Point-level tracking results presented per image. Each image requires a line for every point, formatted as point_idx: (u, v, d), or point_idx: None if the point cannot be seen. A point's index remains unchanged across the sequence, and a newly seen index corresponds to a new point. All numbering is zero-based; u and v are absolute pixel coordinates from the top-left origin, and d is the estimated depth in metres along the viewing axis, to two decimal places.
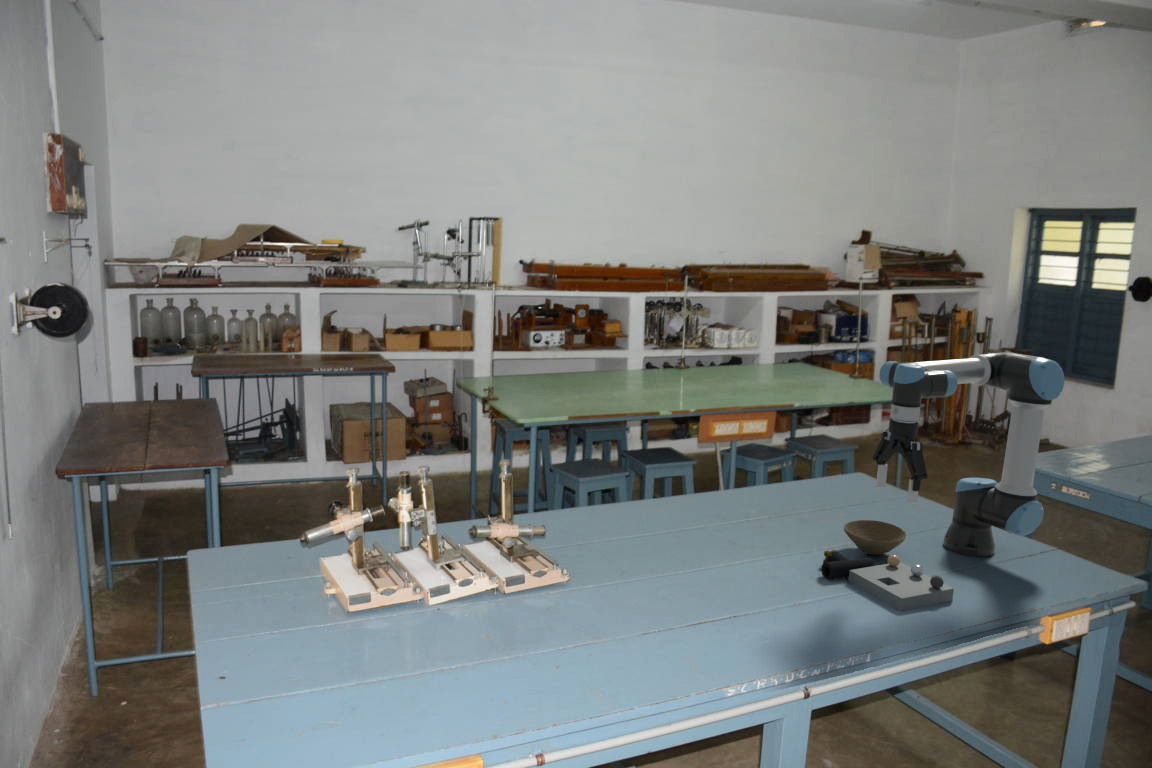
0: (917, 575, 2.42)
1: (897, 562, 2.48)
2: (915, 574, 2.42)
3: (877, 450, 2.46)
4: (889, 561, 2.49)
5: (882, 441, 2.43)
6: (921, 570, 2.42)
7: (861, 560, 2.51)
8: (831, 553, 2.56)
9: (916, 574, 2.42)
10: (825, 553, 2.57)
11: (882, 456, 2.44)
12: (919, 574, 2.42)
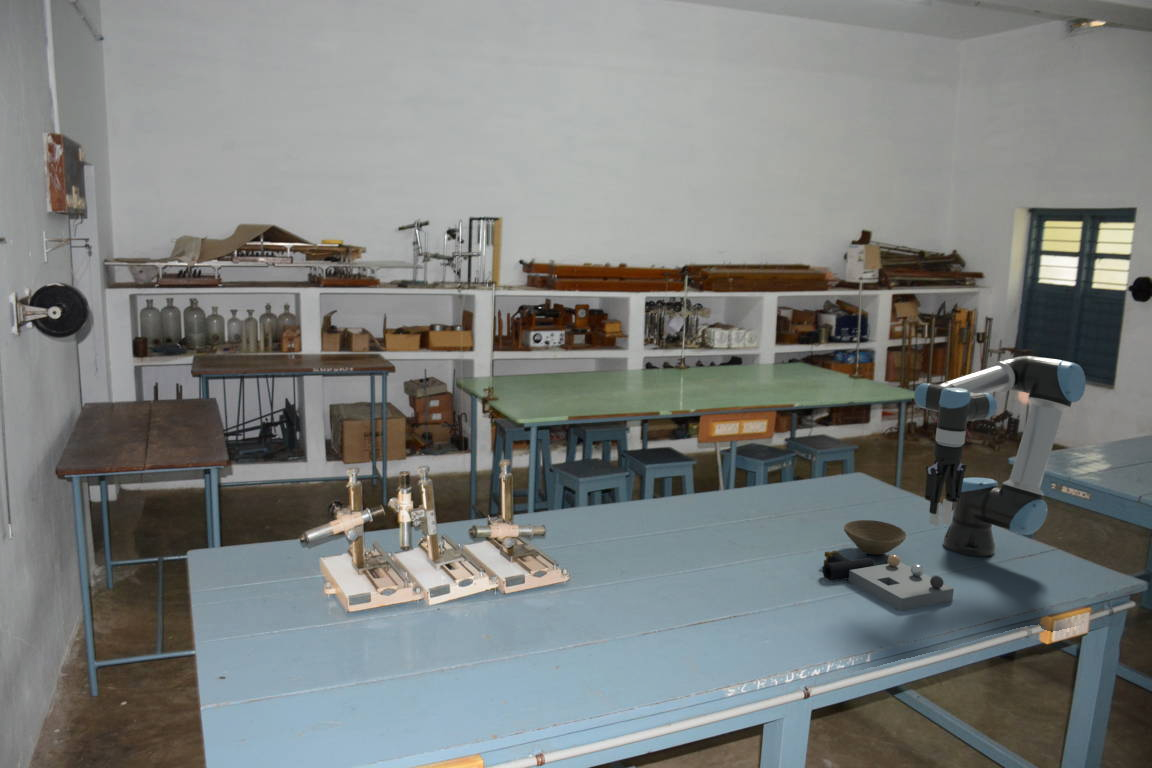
0: (917, 575, 2.42)
1: (897, 562, 2.48)
2: (915, 574, 2.42)
3: None
4: (889, 561, 2.49)
5: None
6: (921, 570, 2.42)
7: (862, 561, 2.50)
8: (832, 554, 2.55)
9: (916, 574, 2.42)
10: (826, 554, 2.57)
11: None
12: (919, 574, 2.42)
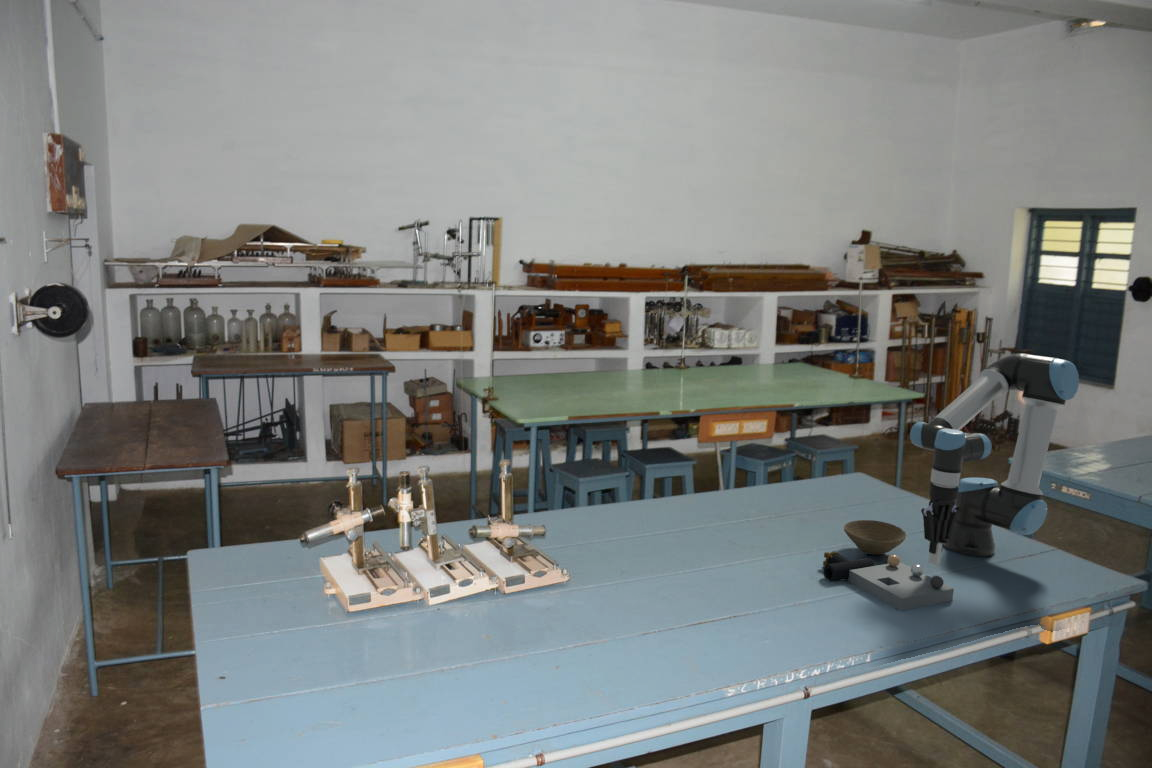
0: (917, 575, 2.42)
1: (897, 562, 2.48)
2: (915, 574, 2.42)
3: None
4: (889, 561, 2.49)
5: None
6: (921, 570, 2.42)
7: (862, 561, 2.50)
8: (831, 554, 2.54)
9: (916, 574, 2.42)
10: (825, 554, 2.56)
11: None
12: (919, 574, 2.42)
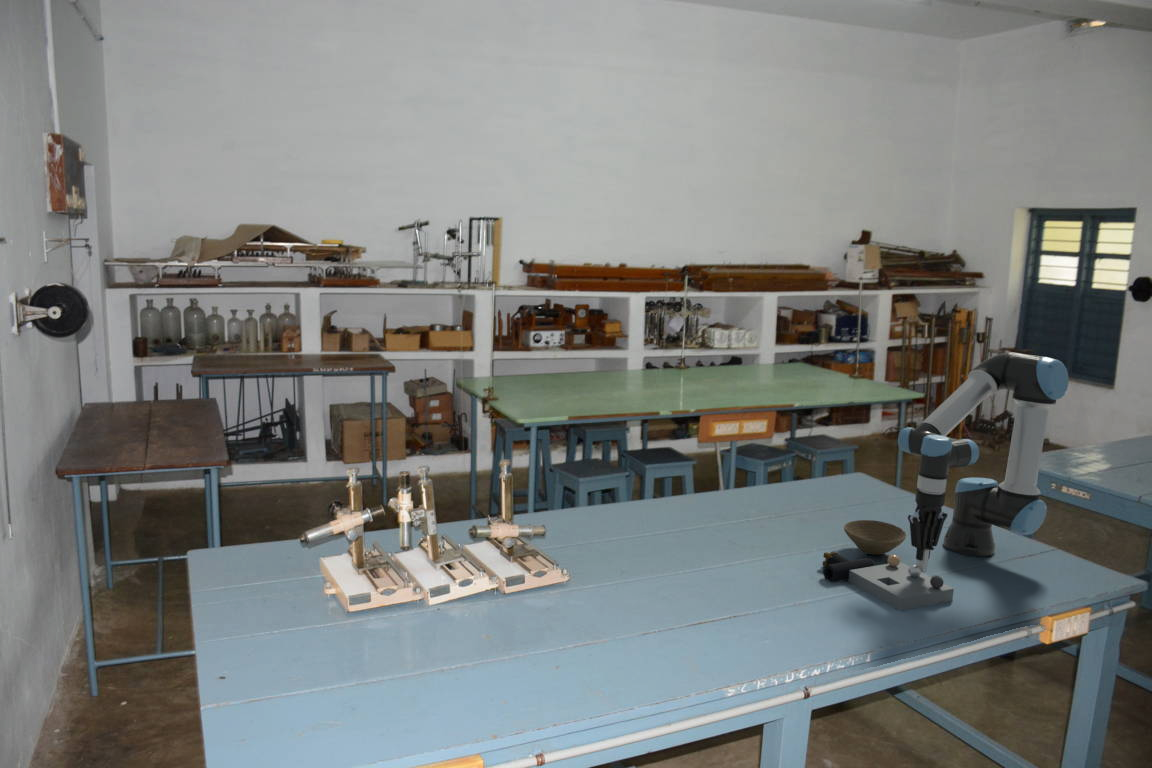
0: (916, 576, 2.42)
1: (897, 562, 2.48)
2: (914, 576, 2.42)
3: None
4: (889, 561, 2.49)
5: None
6: (917, 571, 2.41)
7: (862, 561, 2.50)
8: (831, 555, 2.54)
9: (914, 576, 2.42)
10: (825, 555, 2.56)
11: None
12: (917, 575, 2.41)
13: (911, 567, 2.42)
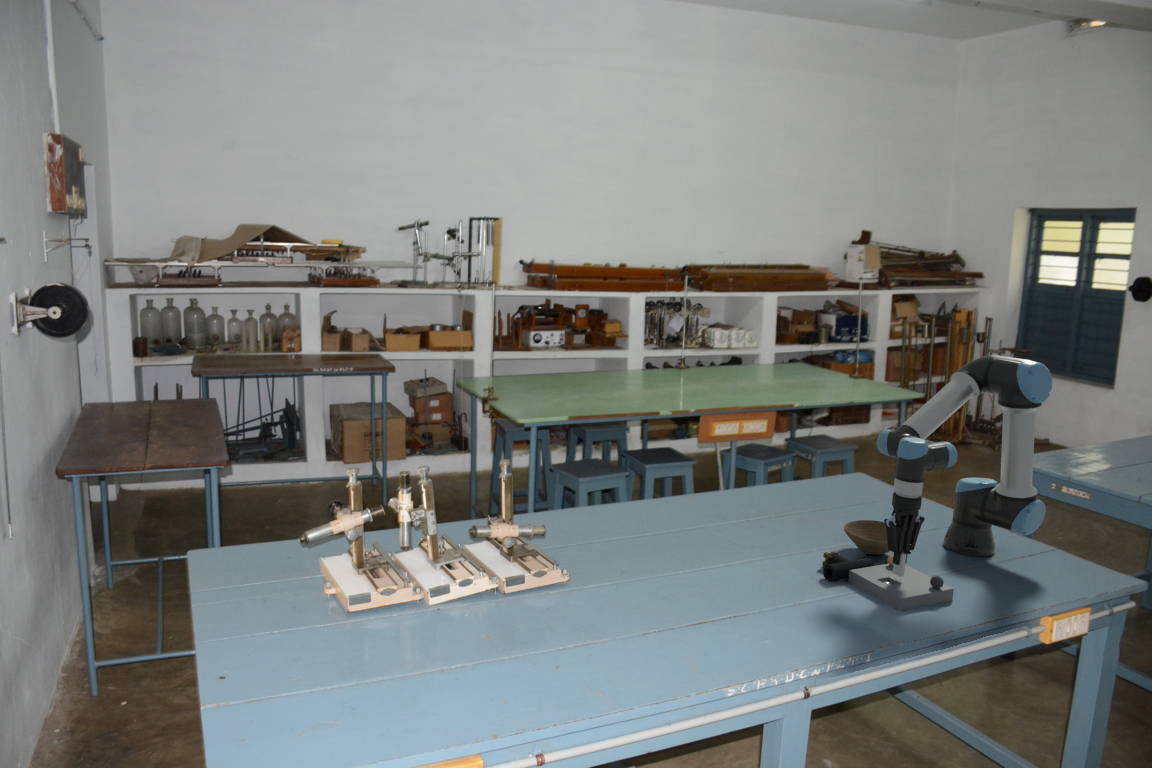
0: None
1: None
2: None
3: None
4: (889, 561, 2.49)
5: None
6: None
7: (862, 561, 2.50)
8: (831, 555, 2.54)
9: None
10: (825, 555, 2.56)
11: None
12: None
13: None
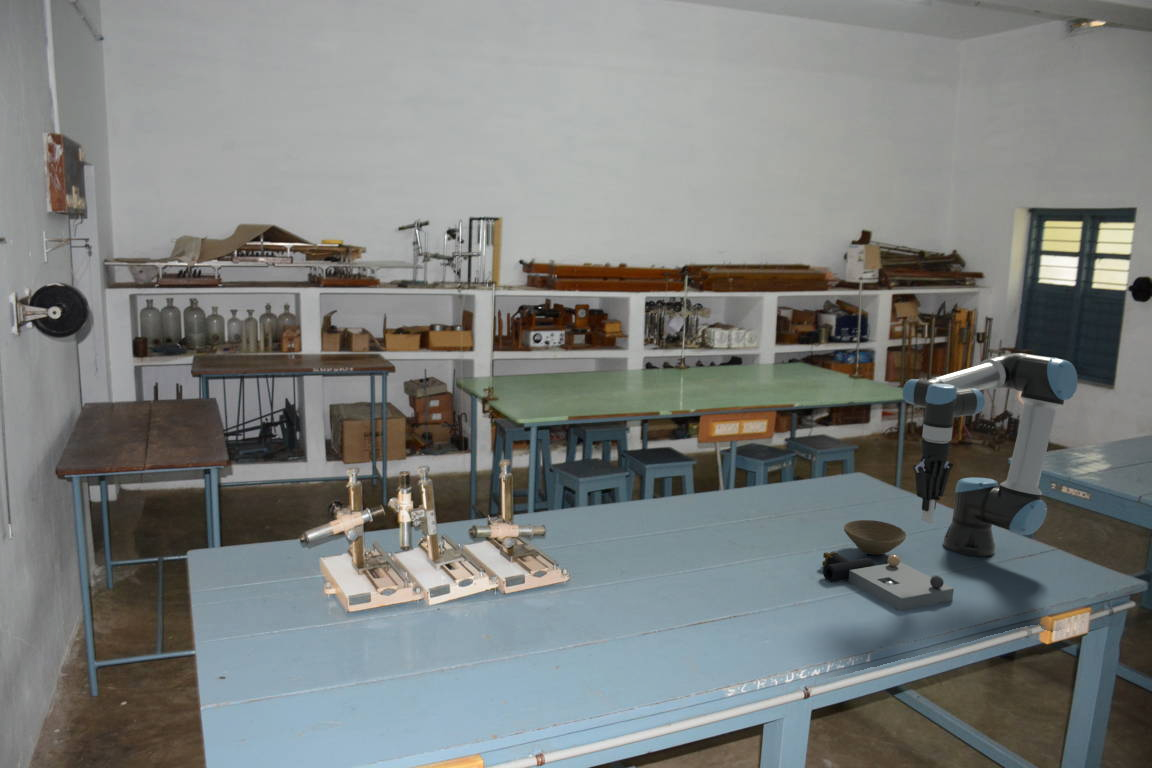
0: None
1: (897, 562, 2.48)
2: None
3: None
4: (889, 561, 2.49)
5: None
6: None
7: (862, 561, 2.50)
8: (831, 555, 2.54)
9: None
10: (824, 555, 2.56)
11: None
12: None
13: None
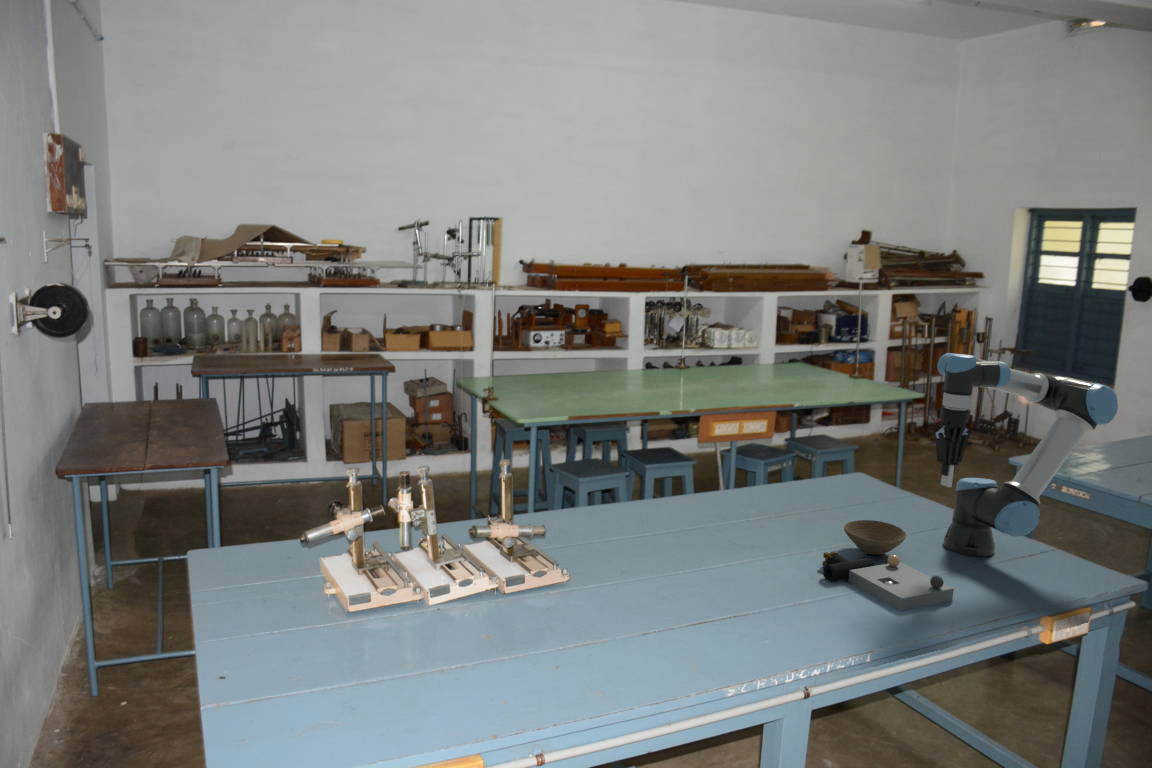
0: None
1: (897, 562, 2.48)
2: None
3: None
4: (889, 561, 2.49)
5: None
6: None
7: (862, 561, 2.50)
8: (831, 555, 2.54)
9: None
10: (824, 555, 2.56)
11: None
12: None
13: None
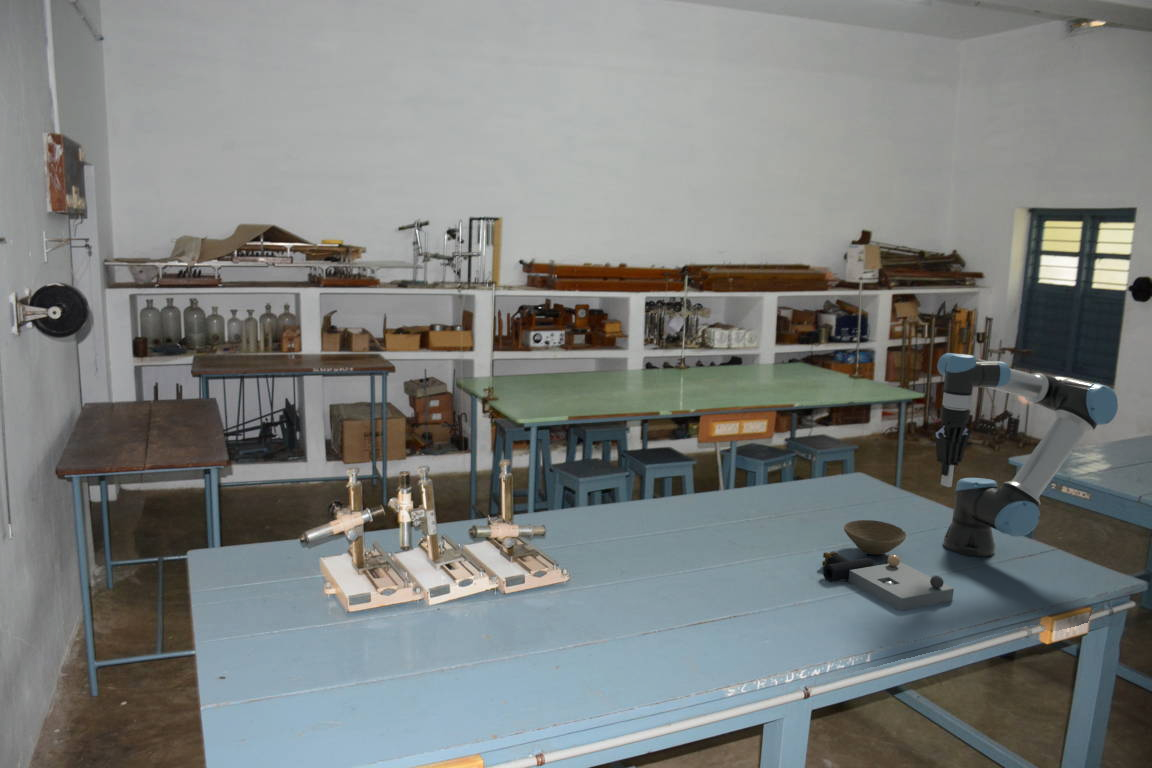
0: None
1: (897, 562, 2.48)
2: None
3: None
4: (889, 561, 2.49)
5: None
6: None
7: (861, 561, 2.50)
8: (831, 555, 2.54)
9: None
10: (824, 555, 2.56)
11: None
12: None
13: None
